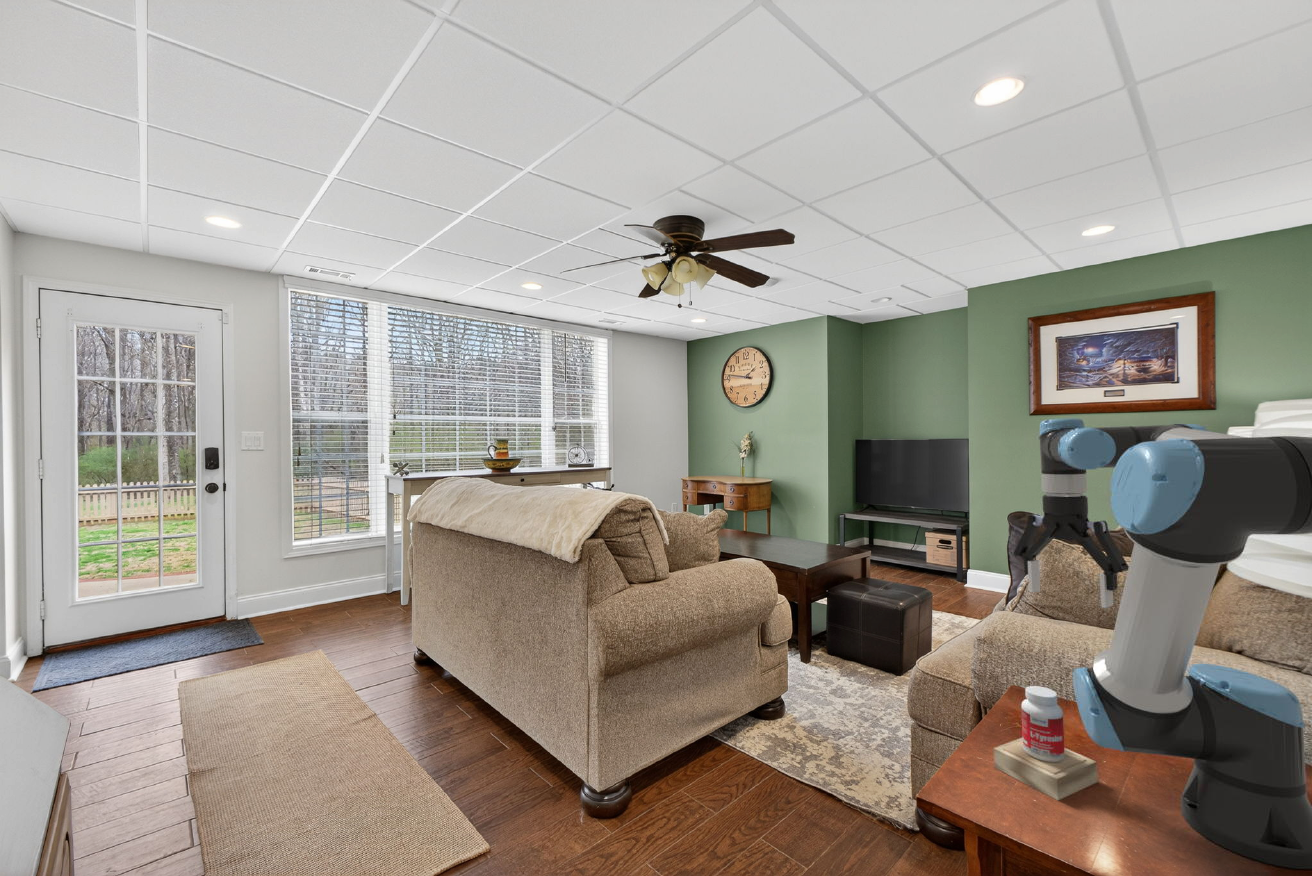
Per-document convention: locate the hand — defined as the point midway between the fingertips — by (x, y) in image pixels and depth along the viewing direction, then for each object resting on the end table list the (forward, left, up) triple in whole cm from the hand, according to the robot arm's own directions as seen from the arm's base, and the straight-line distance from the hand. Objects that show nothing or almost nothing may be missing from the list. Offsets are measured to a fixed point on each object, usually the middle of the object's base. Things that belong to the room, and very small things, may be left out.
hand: (1069, 598), depth 116 cm
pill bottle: (-7, +21, -23) cm, 32 cm away
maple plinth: (-7, +21, -27) cm, 35 cm away
